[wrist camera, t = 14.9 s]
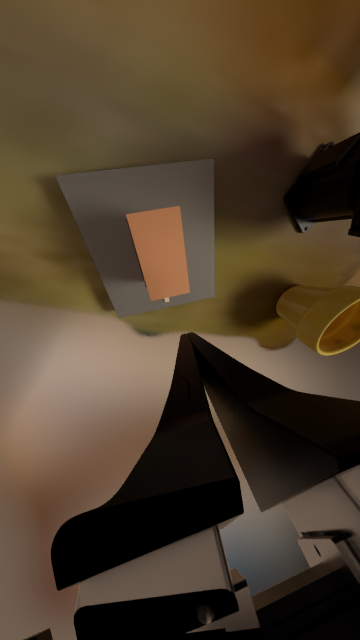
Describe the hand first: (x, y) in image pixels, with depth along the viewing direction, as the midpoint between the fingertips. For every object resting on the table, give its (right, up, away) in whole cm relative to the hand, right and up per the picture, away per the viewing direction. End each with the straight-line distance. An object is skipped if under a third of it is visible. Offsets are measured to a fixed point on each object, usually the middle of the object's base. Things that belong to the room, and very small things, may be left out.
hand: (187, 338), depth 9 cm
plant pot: (+21, +5, +18) cm, 28 cm away
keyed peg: (-4, +10, +9) cm, 14 cm away
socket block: (-4, +10, +9) cm, 14 cm away
